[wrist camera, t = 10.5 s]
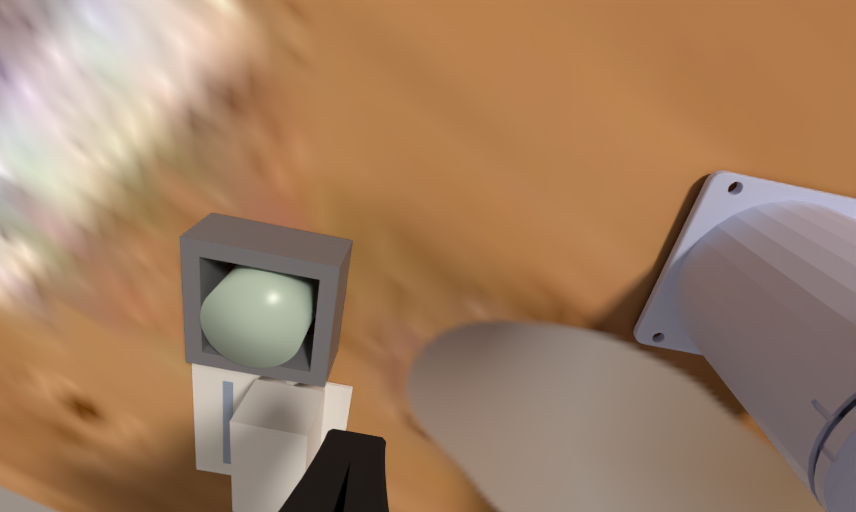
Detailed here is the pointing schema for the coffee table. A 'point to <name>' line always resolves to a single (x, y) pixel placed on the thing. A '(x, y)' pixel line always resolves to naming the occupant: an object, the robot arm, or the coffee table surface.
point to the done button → (259, 315)
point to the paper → (222, 397)
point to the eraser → (273, 442)
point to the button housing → (269, 250)
